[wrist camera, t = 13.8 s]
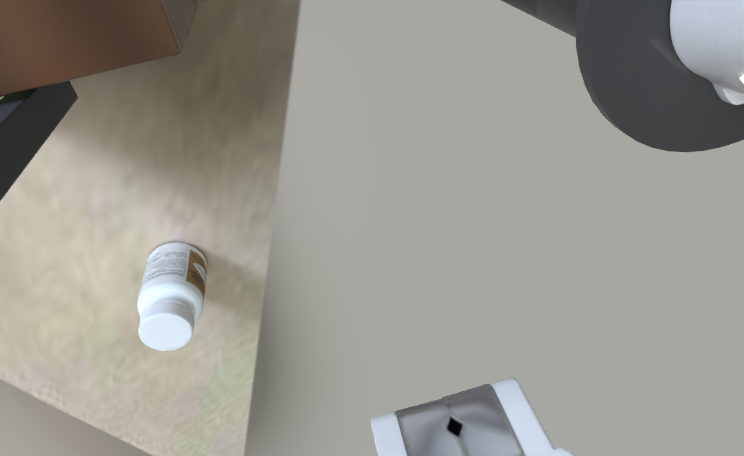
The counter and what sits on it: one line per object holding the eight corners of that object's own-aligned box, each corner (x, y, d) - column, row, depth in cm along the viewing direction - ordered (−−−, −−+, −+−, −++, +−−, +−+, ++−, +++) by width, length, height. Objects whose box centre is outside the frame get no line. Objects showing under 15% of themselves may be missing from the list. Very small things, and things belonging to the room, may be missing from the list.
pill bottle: (210, 283, 43) (203, 353, 37) (152, 287, 43) (136, 359, 36) (204, 238, 41) (196, 305, 35) (143, 242, 40) (124, 310, 34)
